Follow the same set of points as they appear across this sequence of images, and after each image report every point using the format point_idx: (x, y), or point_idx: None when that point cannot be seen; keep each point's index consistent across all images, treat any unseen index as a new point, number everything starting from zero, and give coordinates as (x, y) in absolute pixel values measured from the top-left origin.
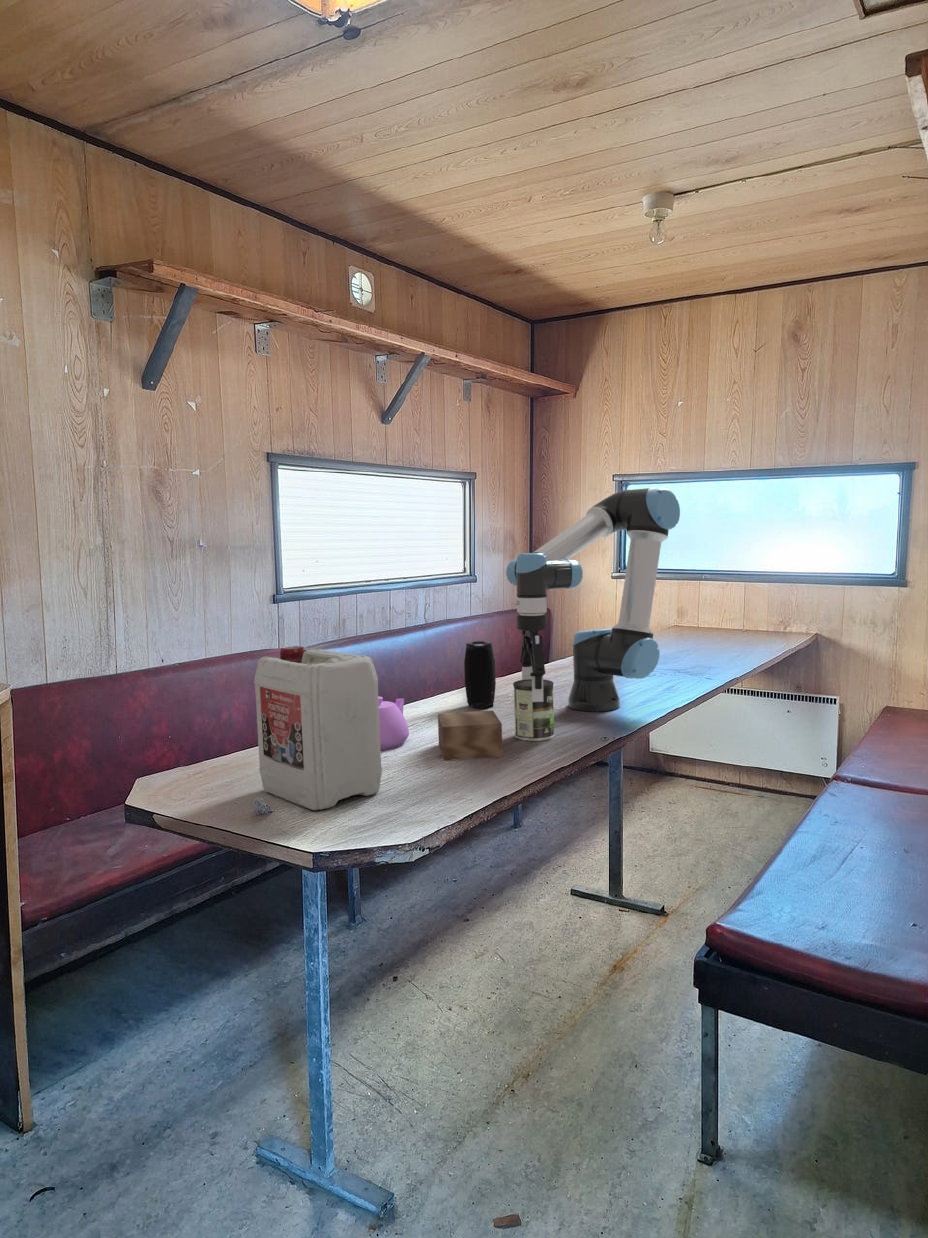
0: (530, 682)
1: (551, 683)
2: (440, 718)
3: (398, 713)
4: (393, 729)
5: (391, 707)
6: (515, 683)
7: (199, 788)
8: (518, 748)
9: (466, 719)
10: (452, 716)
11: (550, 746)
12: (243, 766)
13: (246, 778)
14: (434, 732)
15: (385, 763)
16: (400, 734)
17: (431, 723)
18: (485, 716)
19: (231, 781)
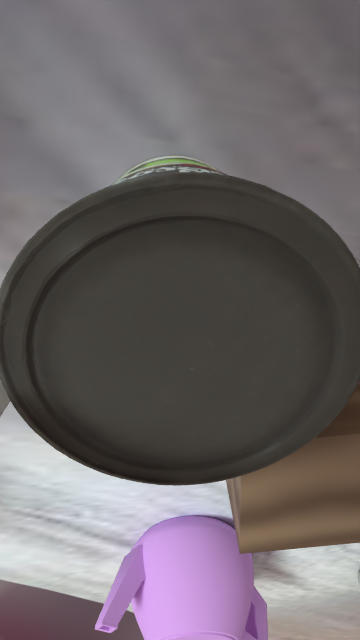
0: (143, 390)
1: (276, 209)
2: (305, 546)
3: (214, 602)
4: (244, 569)
5: (222, 632)
6: (187, 476)
7: (351, 628)
8: None
9: (347, 502)
10: (290, 528)
11: (331, 194)
12: (276, 622)
13: (331, 612)
14: (107, 480)
15: None
16: (233, 546)
17: (14, 489)
18: (330, 463)
19: (337, 618)
